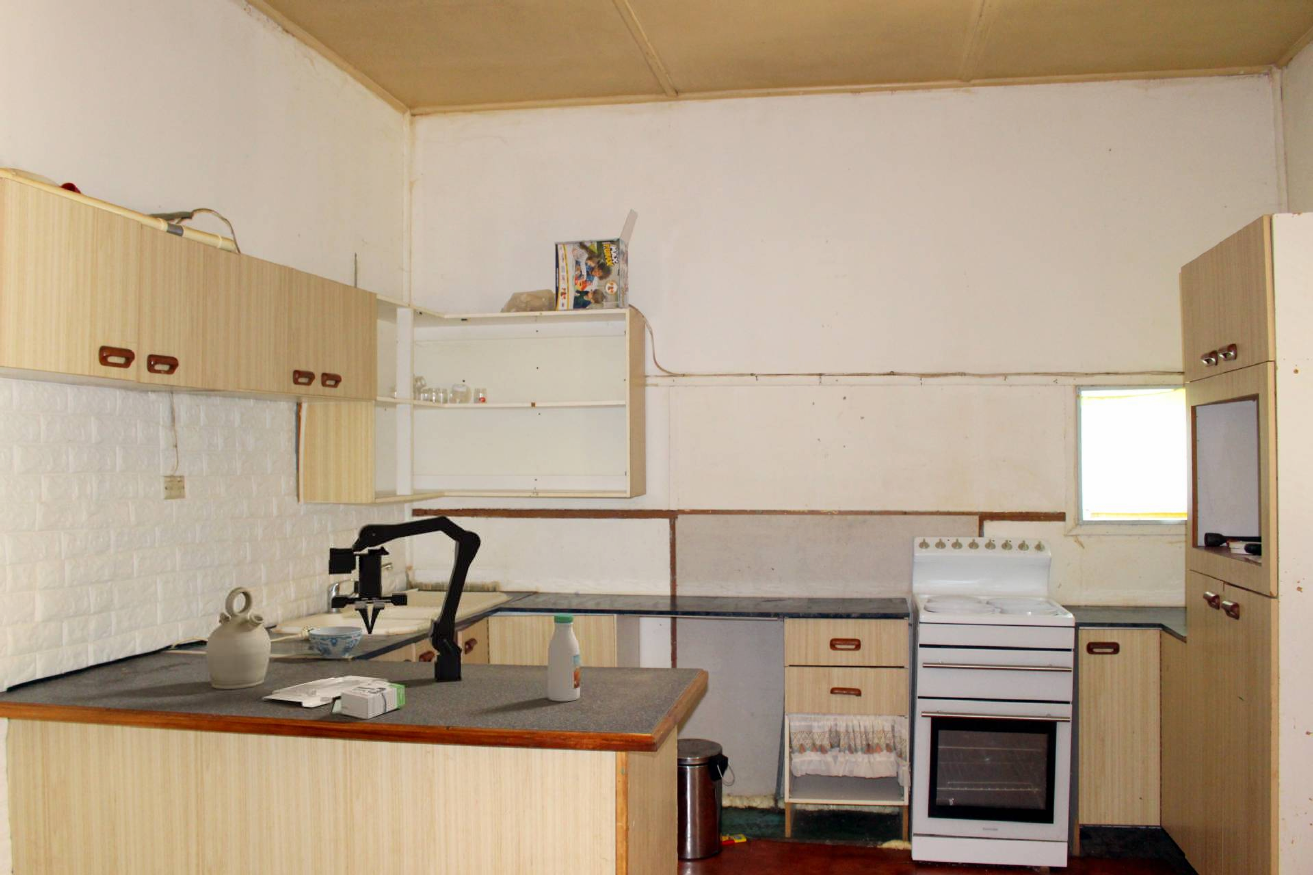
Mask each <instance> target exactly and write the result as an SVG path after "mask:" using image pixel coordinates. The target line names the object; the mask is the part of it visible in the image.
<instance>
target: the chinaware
mask: <svg viewBox="0 0 1313 875" xmlns="http://www.w3.org/2000/svg"><path fill="white" fill-rule="evenodd" d="M362 634H363V628H362V627H359V626H350V625H349V626H347V625H346V626H345V625H344V626H338V625H337V626H336V625H335V626H326V627H318V628H313V629H310V630H309V638H310V640H311V643H312V645H313V646H314V648H315V649H316V650H317V651H318V652H320V653H321V654H322V655H323V657H324V658H325V659H342V658H346V657H348V656H349V653H350V652H351V651H353V649H355V648H356V646H357V645H358V644H359V642H360V640H361V637H362Z"/></svg>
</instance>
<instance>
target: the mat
mask: <svg viewBox="0 0 1313 875" xmlns="http://www.w3.org/2000/svg"><path fill="white" fill-rule="evenodd" d="M331 714H335V715H336V714H342V713H341V699H336V700H335V702H334V706H333V707H332V711H331Z"/></svg>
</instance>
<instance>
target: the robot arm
mask: <svg viewBox="0 0 1313 875" xmlns="http://www.w3.org/2000/svg"><path fill="white" fill-rule="evenodd" d="M435 532H442V533H443V534H445V535H446V536H447V537H449V538H450V539H452V540H453V541H454V542H455V543H454V559H453V560H454V562H453V567H452V569H451V574H450V577H449V581H448V584H447V585H448V586H447V589H446V591H445V594H444V600H443V602H442V606H441V610H440V613H439V615H438V616H437V618H436V620H435V619H433V618H431V619H430V623H429V624H430V626H429V629H428V631H427V632H426V634H427V635H428V642H429V643H430V645H431V647H433V649H434V650H435V651H436V652H437V654H436V660H434V661H433V662H434V663H433V666H434V668H433V671H434V672H433V676H434V679H435V680H436V682H451V681H452V682H453V681H462V680H463V677H462V676H463V675H462V652H463V649H462V647H461V646H460V645H459V644H458V643H457V642H456V641H455V634H456V616H457V612H458V609H459V606H460V605H459V604H460V601H461V598H462V595H463V591H464V587H465V583H466V580H467V576H468V572H469V568H470V566H471V565H472V563H473V561H474V560H475V557H476V555H477V554H478V551H479V549H480V547H481V545H482V541H481V537H480V536H479V534H477V533H476V532H474V531H472V530H469V529H468V530H467V529H464V528H462V527H461V526H459V525H458V524H457V523H455V522H453V521H452V520H451V519H450V518H449V517H448V516H445V515H443V514H442V515H438V516H434V517H429V518H422V519H417V520H411V521H405V522H399V523H390V524H389V523H367V524H364V525H363V526H361V528H360V529H359V530H358V534H357V536H358V537H357V539H356V541H355V542H354V543H352V545H351V547H329V550H328V551H329V557H328V563H327V564H328V566H327V568H328V569H327V571H328V575H329V576H331V575H333V576H334V575H335V576H336V575H351V574H352V572H353V571H355V570H357V557H358V580H354V581H353V593H354V595H358V597H357V596H354V597H350V596H349V594H334V595H333V596H332V598H331V601H330V603H331V604H330V608H331V609H344V608H346V607H347V606H349V605H354V611H355V612H358V613H359V615H360V617H361V618H362V620H363V623H364V627H365V629H366V631H367V634H368V635H372V634H373V630H374V626H375V623H376V622H377V619H378V616H379V614H380V612H381V611H384V610H385V608H386V606H385V605H386V604H392V605H393V606H394V607H403V606H408V594H407V592H392V593H391V595H385V596H384V595H383V585H382V579H383V578H382V576H383V575H382V571H383V570H382V567H383V566H382V565H383V564H382V563H383V562H382V557H383V556H389V555H390V552H389V551H388V550H387V549H385V546H384V545H383V544H386V543H389V542H391V541H394V540H397V539H403V538H405V537H407V538H408V537H412V536H417V535H418V536H419V535H423V534H430V533H435ZM380 545H381V546H380ZM377 546H380V547H379V548H375V547H377ZM366 549H367V552H363V551H364V550H366ZM371 604H372V605H373V606H372V610H371V619H370V617H369V608H368V605H371Z"/></svg>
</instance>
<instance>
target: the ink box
mask: <svg viewBox="0 0 1313 875" xmlns="http://www.w3.org/2000/svg"><path fill="white" fill-rule="evenodd" d="M405 688H406V687H405V685H403V684H398V683H394V684H393V682H383V681H375V682H372V683H369V684H366V685H363V686H360V687H357V688H353V689H350V690H347V691H344V692H341V695H340V700H341V713H340V714H342V715H347V716H351V717H355V718H360V719H363V720H365V719H366V720H369V719H371V718H375V717H376V716H380V715H382V714H384V713H385V714H386V713H387V712H390V711H394V710H395V709H399V708H402V707H403V706H405V704H406V702H405V700H406V698H405V697H406V693H405Z"/></svg>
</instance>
